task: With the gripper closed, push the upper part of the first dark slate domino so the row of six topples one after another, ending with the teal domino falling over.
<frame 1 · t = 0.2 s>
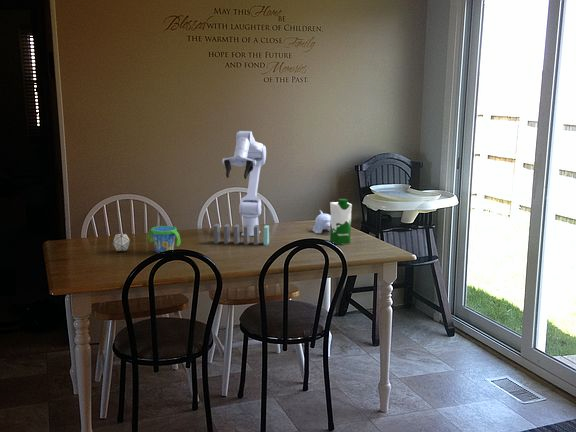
hand: (236, 177, 265), 31 cm above the table, tool tilted 45°, fingers open, 7 cm apart
domino 1: (217, 242, 282), on the table
hippopotamus toy: (325, 232, 305), on the table
snack cup: (164, 252, 265), on the table
domino 3: (236, 243, 281), on the table
domino 5: (256, 243, 280), on the table
game die: (121, 251, 265), on the table
domino 2: (226, 242, 281), on the table
domino 6: (266, 244, 279), on the table
milk carton: (340, 242, 283), on the table
domino 4: (246, 243, 280), on the table
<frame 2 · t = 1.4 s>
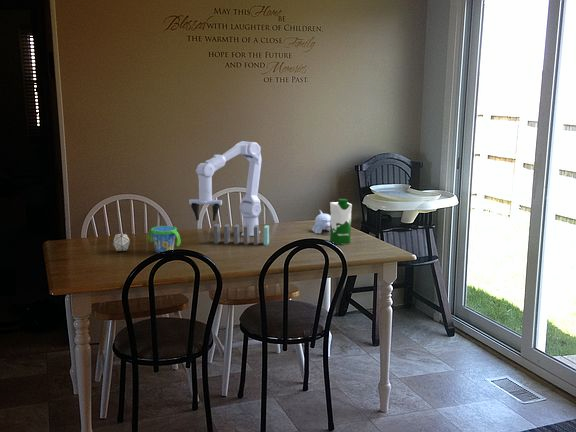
hand: (205, 220, 280), 10 cm above the table, tool pointing down, fingers open, 7 cm apart
nothing on the table moved.
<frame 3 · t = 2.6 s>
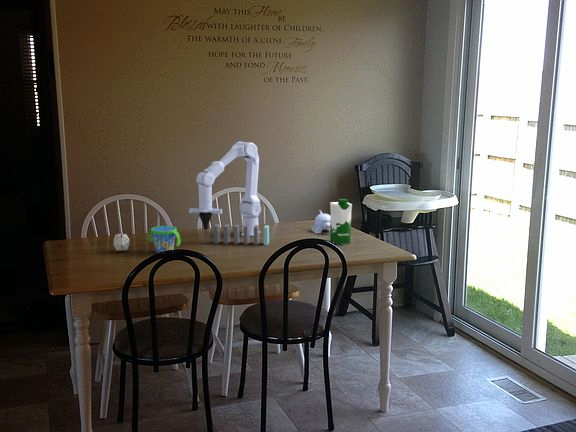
hand: (206, 229, 281), 6 cm above the table, tool pointing down, fingers closed
nothing on the table moved.
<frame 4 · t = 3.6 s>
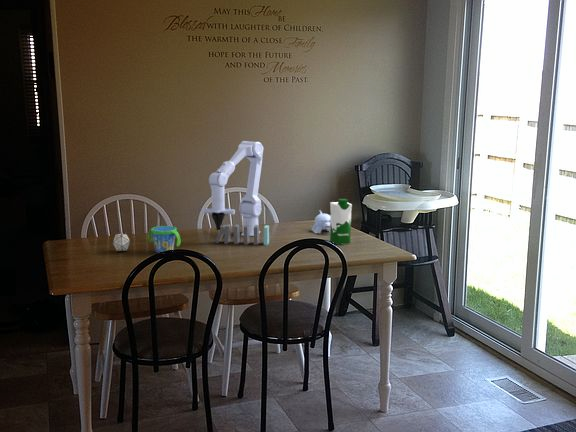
hand: (218, 229, 281), 6 cm above the table, tool pointing down, fingers closed
domino 1: (217, 241, 282), on the table, tilted 27°
domino 2: (226, 242, 281), on the table, tilted 6°
everything else where it was.
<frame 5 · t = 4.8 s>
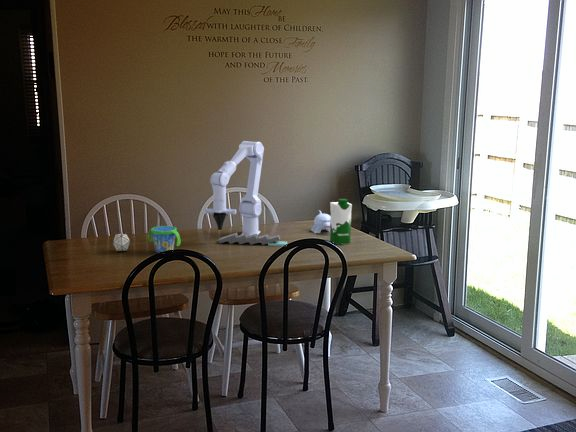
hand: (220, 229, 281), 6 cm above the table, tool pointing down, fingers closed
domino 1: (220, 240, 282), point 1 cm above the table, tilted 70°, touching domino 2
domino 3: (240, 241, 280), point 1 cm above the table, tilted 71°, touching domino 2
domino 5: (262, 242, 279), point 1 cm above the table, tilted 73°, touching domino 6
domino 2: (230, 241, 281), point 1 cm above the table, tilted 70°, touching domino 1, domino 3
domino 6: (268, 243, 279), on the table, tilted 90°, touching domino 5
domino 4: (250, 241, 280), point 1 cm above the table, tilted 71°
everything else where it was.
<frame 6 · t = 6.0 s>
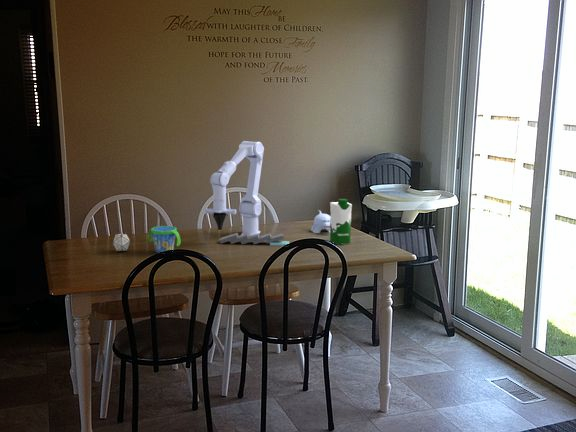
hand: (220, 229, 281), 6 cm above the table, tool pointing down, fingers closed
domino 1: (220, 240, 281), point 1 cm above the table, tilted 71°
domino 3: (241, 241, 281), point 1 cm above the table, tilted 71°, touching domino 2, domino 4
domino 5: (266, 240, 280), point 1 cm above the table, tilted 74°, touching domino 4, domino 6
domino 2: (231, 241, 281), point 1 cm above the table, tilted 71°, touching domino 3
domino 4: (253, 241, 280), point 1 cm above the table, tilted 69°, touching domino 3, domino 5
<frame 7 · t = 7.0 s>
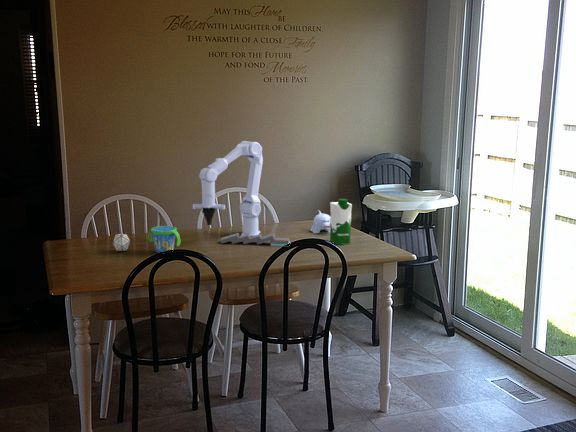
hand: (209, 224, 283), 8 cm above the table, tool pointing down, fingers closed
domino 1: (221, 240, 281), point 1 cm above the table, tilted 72°, touching domino 2
domino 5: (270, 240, 279), point 2 cm above the table, tilted 90°, touching domino 4
domino 2: (232, 241, 281), point 1 cm above the table, tilted 72°, touching domino 1, domino 3
domino 6: (271, 244, 279), on the table, tilted 90°
domino 4: (258, 241, 280), point 1 cm above the table, tilted 67°, touching domino 3, domino 5
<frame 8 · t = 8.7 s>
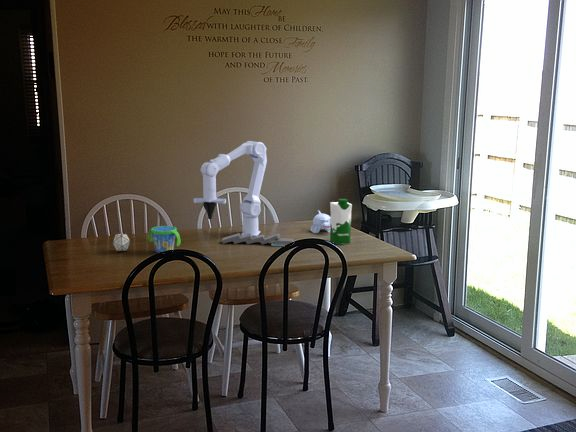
hand: (210, 218, 284), 10 cm above the table, tool pointing down, fingers closed
domino 3: (246, 241, 281), point 1 cm above the table, tilted 75°, touching domino 2, domino 4
domino 5: (275, 240, 278), point 2 cm above the table, tilted 90°
domino 4: (262, 241, 280), point 1 cm above the table, tilted 66°, touching domino 3
at the end: domino 6 tilted 90°; domino 1 tilted 73° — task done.
